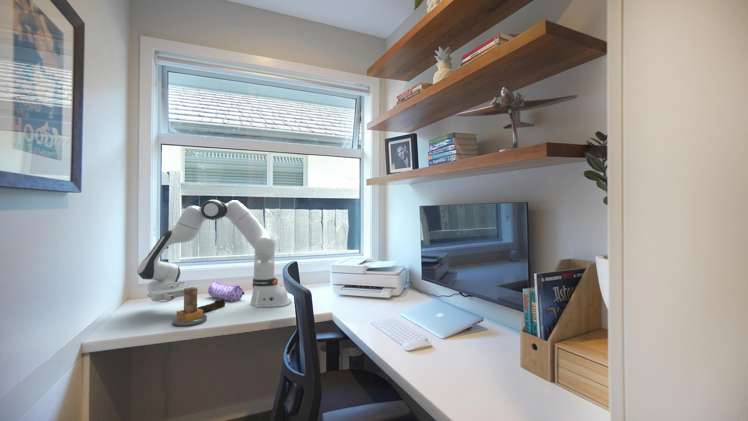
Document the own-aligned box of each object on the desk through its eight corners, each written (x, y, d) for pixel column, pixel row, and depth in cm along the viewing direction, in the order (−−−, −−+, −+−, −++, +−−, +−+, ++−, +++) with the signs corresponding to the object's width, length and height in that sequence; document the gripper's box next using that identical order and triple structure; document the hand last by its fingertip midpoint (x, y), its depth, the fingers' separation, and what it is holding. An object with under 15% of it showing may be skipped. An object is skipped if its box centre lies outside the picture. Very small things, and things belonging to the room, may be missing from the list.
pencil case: (244, 299, 192) (245, 283, 192) (231, 303, 183) (232, 286, 184) (219, 295, 202) (219, 279, 202) (205, 298, 193) (205, 282, 193)
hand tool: (196, 316, 160) (196, 307, 160) (190, 315, 161) (191, 306, 161) (228, 307, 177) (228, 298, 177) (223, 306, 179) (223, 297, 179)
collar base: (197, 315, 161) (197, 305, 161) (212, 320, 154) (212, 310, 154) (166, 322, 150) (166, 311, 150) (181, 328, 142) (181, 317, 142)
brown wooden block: (192, 316, 154) (193, 286, 155) (196, 318, 152) (197, 288, 152) (183, 318, 151) (184, 288, 151) (187, 320, 149) (188, 289, 149)
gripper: (145, 288, 155) (158, 292, 147) (189, 281, 172) (203, 285, 164) (144, 301, 155) (158, 306, 147) (189, 293, 172) (203, 297, 164)
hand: (182, 295), depth 156 cm, fingers open, 8 cm apart
